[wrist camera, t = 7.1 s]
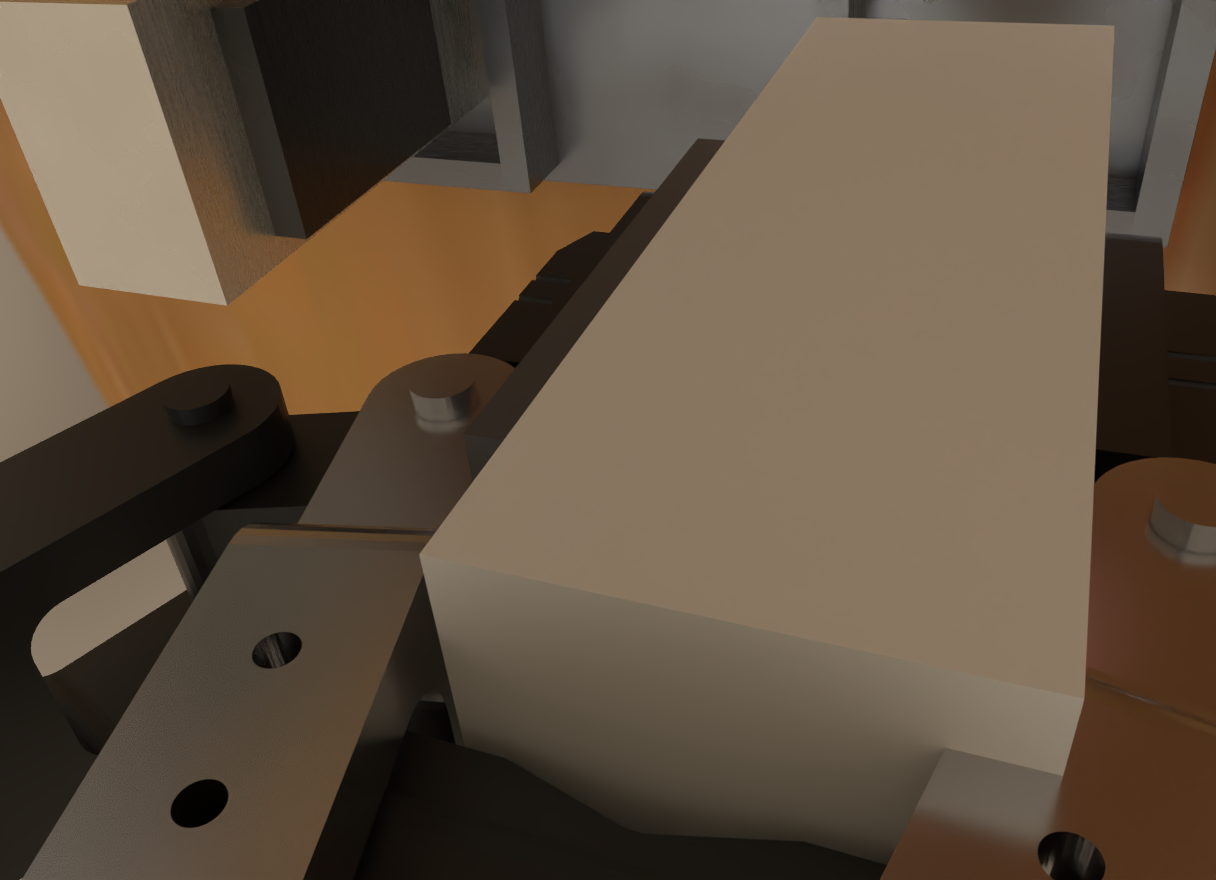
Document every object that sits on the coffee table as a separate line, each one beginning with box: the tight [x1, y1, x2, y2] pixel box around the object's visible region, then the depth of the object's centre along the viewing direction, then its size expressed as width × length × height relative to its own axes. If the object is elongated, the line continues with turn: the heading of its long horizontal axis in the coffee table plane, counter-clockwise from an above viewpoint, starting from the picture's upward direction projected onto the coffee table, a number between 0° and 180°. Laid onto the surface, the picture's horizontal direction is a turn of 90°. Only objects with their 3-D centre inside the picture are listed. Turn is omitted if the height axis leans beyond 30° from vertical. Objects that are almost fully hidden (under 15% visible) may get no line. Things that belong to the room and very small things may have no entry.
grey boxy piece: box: [0, 0, 1216, 305], centre depth 18 cm, size 18×8×10 cm, turn 95°
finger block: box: [419, 17, 1114, 865], centre depth 10 cm, size 4×4×9 cm
